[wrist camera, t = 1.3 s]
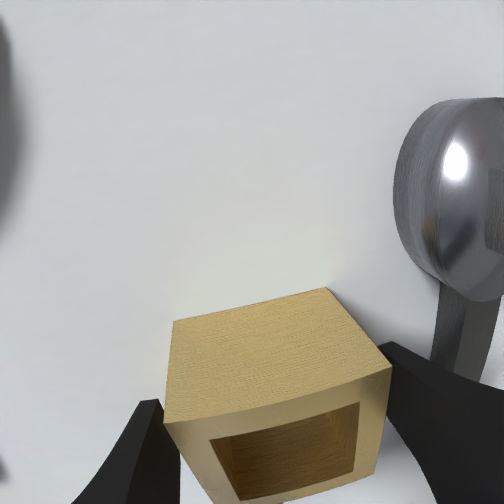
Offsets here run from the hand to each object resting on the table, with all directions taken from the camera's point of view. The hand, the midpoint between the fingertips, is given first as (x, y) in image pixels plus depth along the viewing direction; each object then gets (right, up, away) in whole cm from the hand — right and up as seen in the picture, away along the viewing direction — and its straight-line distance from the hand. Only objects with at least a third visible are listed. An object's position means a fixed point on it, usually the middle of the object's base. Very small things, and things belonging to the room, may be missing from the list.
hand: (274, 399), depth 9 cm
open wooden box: (0, 0, +2) cm, 2 cm away
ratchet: (+9, +2, +3) cm, 9 cm away
